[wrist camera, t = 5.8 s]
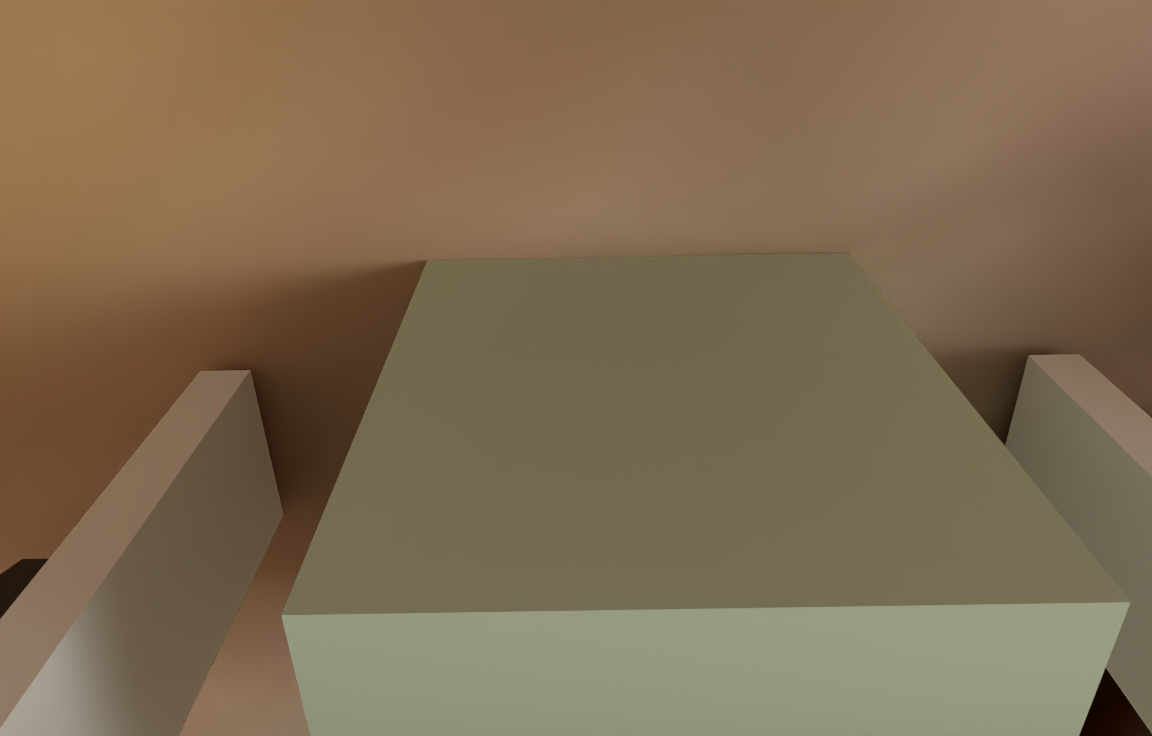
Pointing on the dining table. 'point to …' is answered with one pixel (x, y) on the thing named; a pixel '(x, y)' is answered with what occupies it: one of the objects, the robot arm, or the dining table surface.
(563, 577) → the sage block
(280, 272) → the dining table surface
